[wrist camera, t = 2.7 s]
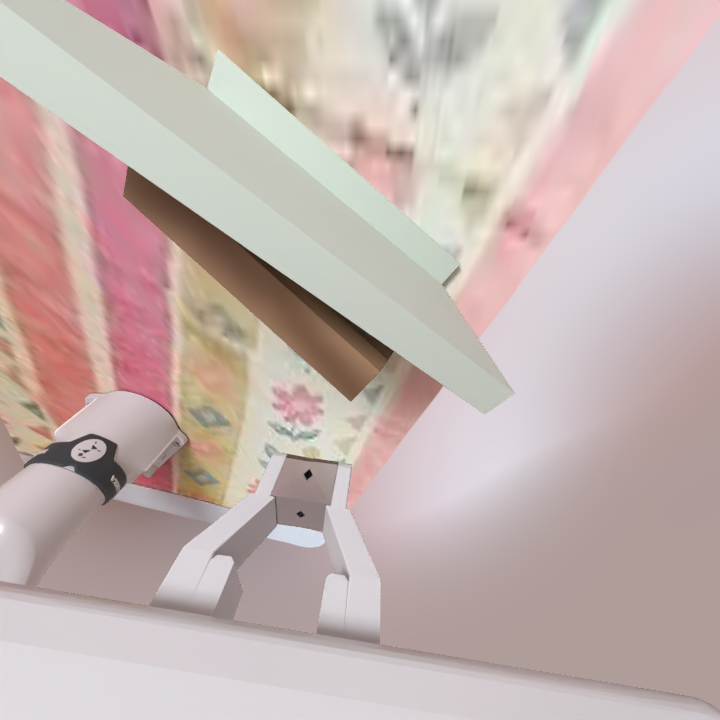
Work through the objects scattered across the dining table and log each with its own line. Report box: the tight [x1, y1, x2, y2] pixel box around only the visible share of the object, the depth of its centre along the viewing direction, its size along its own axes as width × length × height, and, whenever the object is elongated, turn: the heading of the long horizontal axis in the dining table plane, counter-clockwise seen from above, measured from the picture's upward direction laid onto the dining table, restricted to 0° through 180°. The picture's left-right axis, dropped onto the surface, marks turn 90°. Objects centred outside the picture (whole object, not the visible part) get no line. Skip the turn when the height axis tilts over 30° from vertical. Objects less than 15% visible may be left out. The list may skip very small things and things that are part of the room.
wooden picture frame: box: [123, 166, 394, 401], centre depth 22 cm, size 3×20×14 cm, turn 54°
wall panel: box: [0, 0, 515, 414], centre depth 20 cm, size 8×30×22 cm, turn 54°
